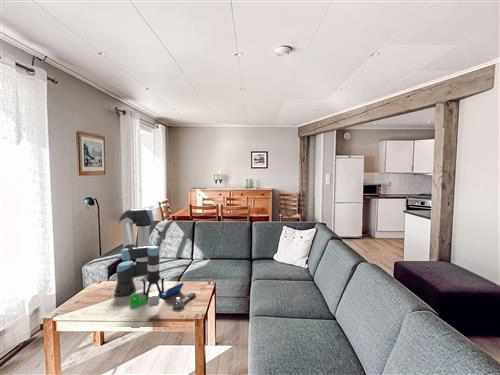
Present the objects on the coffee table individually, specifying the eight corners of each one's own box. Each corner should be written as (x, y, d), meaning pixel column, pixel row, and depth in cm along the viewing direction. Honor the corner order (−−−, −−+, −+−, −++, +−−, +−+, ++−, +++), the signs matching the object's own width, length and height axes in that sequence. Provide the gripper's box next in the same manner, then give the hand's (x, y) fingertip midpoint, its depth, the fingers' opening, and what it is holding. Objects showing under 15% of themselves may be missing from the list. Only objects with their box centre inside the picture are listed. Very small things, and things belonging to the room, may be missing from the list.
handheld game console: (172, 289, 219) (172, 278, 219) (184, 294, 212) (184, 282, 212) (156, 297, 207) (156, 285, 206) (167, 301, 199) (167, 289, 199)
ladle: (170, 308, 189) (170, 299, 188) (189, 295, 209) (189, 287, 208) (179, 310, 186) (178, 301, 185) (197, 297, 205) (197, 289, 205)
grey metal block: (149, 303, 184) (149, 292, 183) (157, 301, 186) (157, 291, 185) (149, 306, 179) (149, 296, 178) (158, 305, 181) (158, 295, 180)
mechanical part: (133, 308, 189) (133, 296, 189) (130, 305, 193) (130, 294, 193) (150, 302, 198) (150, 291, 197) (146, 299, 202) (146, 289, 201)
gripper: (138, 273, 174) (138, 308, 176) (168, 270, 181) (168, 304, 182) (138, 269, 181) (138, 303, 183) (167, 266, 188) (167, 299, 189)
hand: (153, 303), depth 182 cm, fingers closed on grey metal block, 6 cm apart
